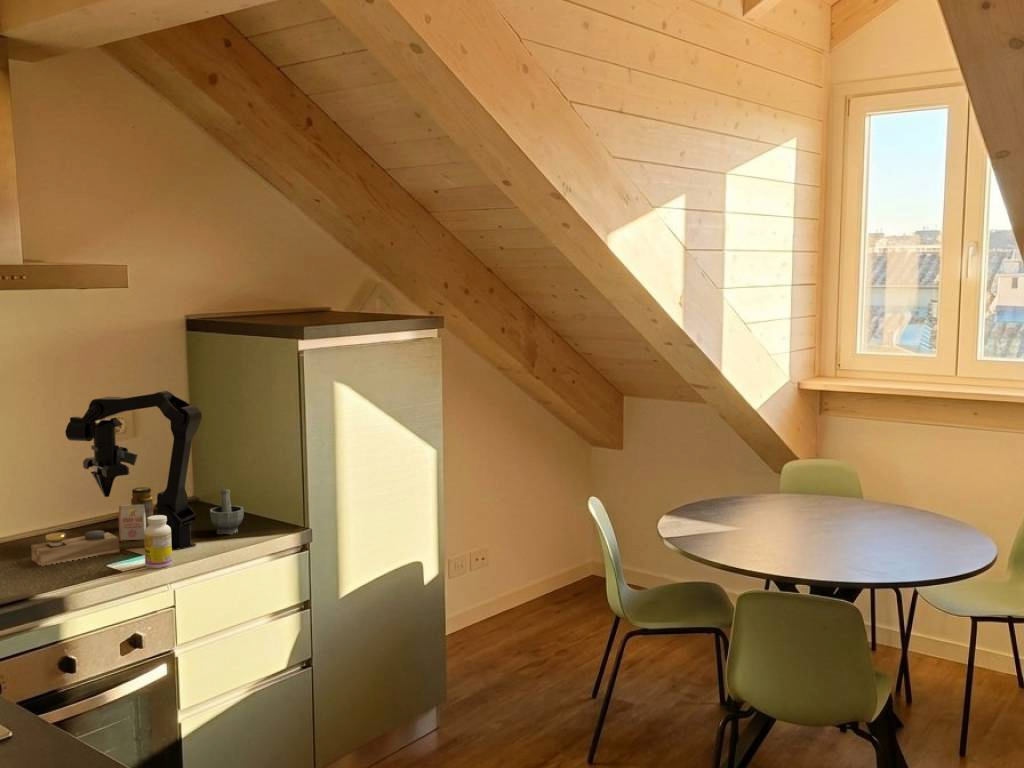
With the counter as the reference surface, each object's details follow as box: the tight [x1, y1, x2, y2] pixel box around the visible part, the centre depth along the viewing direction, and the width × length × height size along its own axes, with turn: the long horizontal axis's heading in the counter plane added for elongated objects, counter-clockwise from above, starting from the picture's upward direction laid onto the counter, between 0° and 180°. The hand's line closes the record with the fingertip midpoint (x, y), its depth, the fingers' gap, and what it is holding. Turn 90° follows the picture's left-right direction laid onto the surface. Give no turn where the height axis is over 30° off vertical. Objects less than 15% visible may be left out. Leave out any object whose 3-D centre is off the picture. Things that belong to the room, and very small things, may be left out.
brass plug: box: [45, 532, 67, 548], centre depth 257 cm, size 5×5×4 cm
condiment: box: [130, 486, 154, 528], centre depth 290 cm, size 7×8×12 cm
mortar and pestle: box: [209, 488, 245, 536], centre depth 287 cm, size 11×9×12 cm
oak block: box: [30, 531, 120, 567], centre depth 261 cm, size 8×20×4 cm, turn 133°
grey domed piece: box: [84, 529, 105, 541], centre depth 264 cm, size 5×5×4 cm
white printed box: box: [118, 504, 146, 542], centre depth 278 cm, size 4×7×10 cm, turn 103°
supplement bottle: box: [143, 514, 173, 569], centre depth 252 cm, size 7×7×13 cm
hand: (106, 496), depth 274 cm, fingers closed
